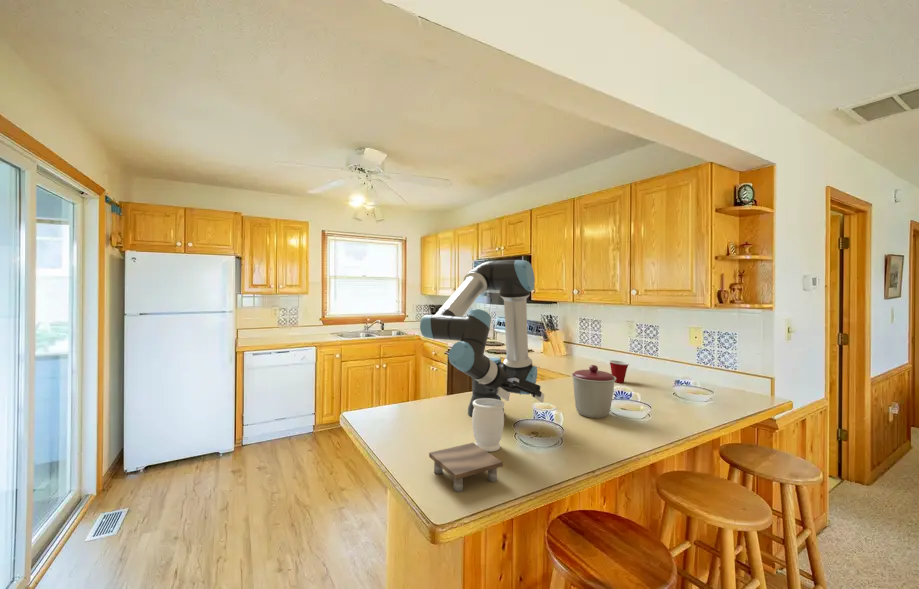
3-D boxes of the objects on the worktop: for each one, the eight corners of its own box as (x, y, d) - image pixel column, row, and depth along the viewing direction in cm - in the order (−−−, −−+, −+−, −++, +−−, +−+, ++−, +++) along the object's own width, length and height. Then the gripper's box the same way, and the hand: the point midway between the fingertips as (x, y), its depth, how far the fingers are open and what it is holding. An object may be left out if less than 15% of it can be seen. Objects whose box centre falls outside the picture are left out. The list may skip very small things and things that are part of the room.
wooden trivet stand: (428, 470, 110) (429, 452, 110) (472, 459, 118) (472, 442, 118) (455, 495, 98) (455, 474, 97) (502, 480, 105) (502, 462, 105)
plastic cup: (632, 384, 217) (632, 363, 217) (612, 384, 217) (613, 363, 217) (624, 380, 228) (624, 360, 228) (605, 379, 228) (606, 359, 228)
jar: (503, 441, 132) (504, 398, 132) (503, 454, 122) (504, 407, 122) (472, 439, 133) (473, 397, 133) (470, 452, 123) (471, 406, 123)
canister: (565, 407, 173) (566, 360, 172) (606, 408, 172) (607, 361, 172) (576, 421, 155) (578, 369, 154) (622, 422, 154) (623, 370, 154)
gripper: (455, 385, 123) (493, 407, 136) (521, 385, 107) (557, 410, 119) (460, 363, 127) (497, 386, 139) (525, 360, 110) (560, 387, 123)
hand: (525, 397), depth 129 cm, fingers open, 13 cm apart
